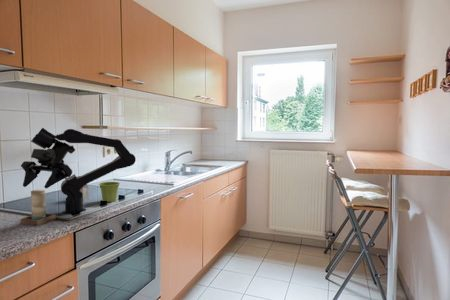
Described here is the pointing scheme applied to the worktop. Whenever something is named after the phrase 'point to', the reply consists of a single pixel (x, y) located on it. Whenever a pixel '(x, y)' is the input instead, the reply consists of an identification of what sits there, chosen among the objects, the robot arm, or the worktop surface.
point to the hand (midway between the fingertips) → (34, 187)
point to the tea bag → (85, 192)
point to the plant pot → (109, 191)
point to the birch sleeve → (38, 204)
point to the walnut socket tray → (29, 220)
